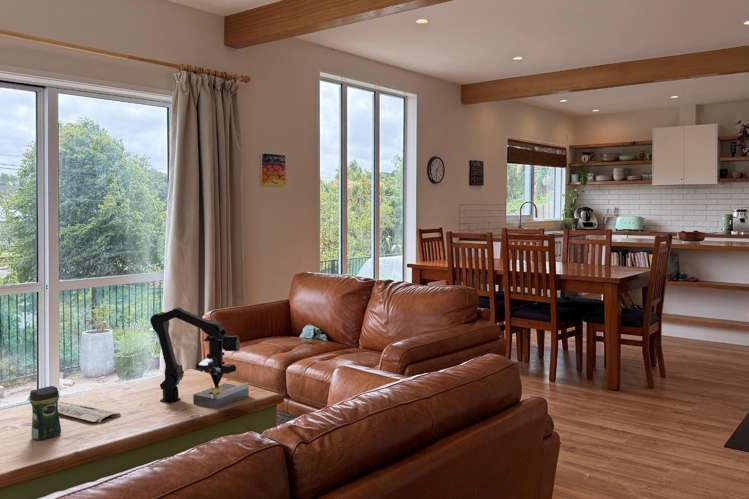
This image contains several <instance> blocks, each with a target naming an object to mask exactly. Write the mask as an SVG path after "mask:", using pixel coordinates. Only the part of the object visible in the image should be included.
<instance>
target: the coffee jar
mask: <svg viewBox="0 0 749 499" xmlns="http://www.w3.org/2000/svg"><path fill="white" fill-rule="evenodd" d="M29 393H30V394H29V402H30V405H31V409H32V411H31V412H32V414H31V415H32V420H31V438H32V439H33V440H36V441H43V440H47V439H51V438H52V439H53V438H54V437H56V436H59V435H60V434H62V428H61V426H62V425H61V421H60V414H58V401H59V399H60V393H59V388H58V387H57V386H54V385H50V386H44V387H41V388H36V389H32V390H30V392H29Z"/></svg>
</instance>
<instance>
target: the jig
mask: <svg viewBox="0 0 749 499" xmlns="http://www.w3.org/2000/svg"><path fill="white" fill-rule="evenodd" d="M221 385H222V392H219V393H216V394H215V395H213V394H212V389H211V388H207V389H205V390H202V391H199V392H196V393H193V394H192V396H193V397H192V398H193V401H192V402H193V404H194V405H199V406H204V407H208V408H212V409H219V408H222V407H225V406H227V405H229V404H230V405H231V404H233V403H235V402H238V401H240V400H242V399H245V398H248V397H250V392H249V391H250V388H249V386H250V384H249V382H245V383H244V382H243V383H241V384H238V385H237V384H232V383H227V382H225V383H222V384H221Z"/></svg>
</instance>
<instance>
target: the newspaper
mask: <svg viewBox="0 0 749 499" xmlns="http://www.w3.org/2000/svg"><path fill="white" fill-rule="evenodd" d="M58 414H59V415H63V416H66V417H71V418H75V419H81V420H85V421H88V422H94V423H100V424H101V423H102V420H103V419H105V418H106V417H108V418H109V417H110V418H116V417H121V416H122V415H121V413H120V412H116V411H110V410H106V409H105V410H104V409H101V408H100V409H99V408H96V407H95V408H94V407H89V406H86V405H85V406H84V405H79V404H75V403H70V402H69V403H68V402H64V401H59V400H58Z"/></svg>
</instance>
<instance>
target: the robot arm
mask: <svg viewBox="0 0 749 499" xmlns="http://www.w3.org/2000/svg"><path fill="white" fill-rule="evenodd" d="M175 318H176V319H178V320H181V321H183V322H185V323H188V324H190V325H192V326H195V327H196V328H198V329H200V330H201V331H203V333H205V334H206V335H207V336H206V337H205V339H204V340H203V342H208V351H209V352H208V353H206V358H204V359H203V360H201V361H198V362H196V364H195V366H196V367H195V368H196V369H197V370H200V371H201V372H205V373H207V374H209V375H210V377H211V380H212V382H213V385H215V386H218V385H220V382H221V380H222V377H223V375H224V374H227V375H229V374H232V373H233V372H237V366H236V364H232V363H227V364H226V361H224V358H223V356H225V352H239V351H240V349H241V342H240V339H239V335H229V334H228V332H227V331H226V330H225V328H224V325H223V323H222V322H220V321H218V320H213V319H207V318H204V317H201V316H198V315H197V314H194V313H192V312H191V311H190V312H189V311H187V310H185V309H182V308H181V307H180V306H178V307H174V308H173V309H171V310H169V311H167V312H165V311H160V312H158V313H155V314H152V316H151V317H150V320H149V322H150V325H151V327H152V329H153V331H155V333H156V334H157V337H158V340H159V345H160V348H161V353H162V357H163V361H164V364H165V365H164V366H165V368H164V380H163V381H162V382H161V383H160V384H159V387H160V389H161V390H162V398H161V399H159V401H160V402H163V403H167V404H168V403H169V404H172V403H174V402H177V401H180V400H181V397H179V388H178V385H179V383H180V381H182V379H183V378H184V374H185V372H184V369H183V364H180V365H179V363H178V362H177V360H176V356H175V351H174V348H173V344H172V340H171V336H170V332H169V331H170V320H173V319H175ZM223 351H224V352H223Z"/></svg>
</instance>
